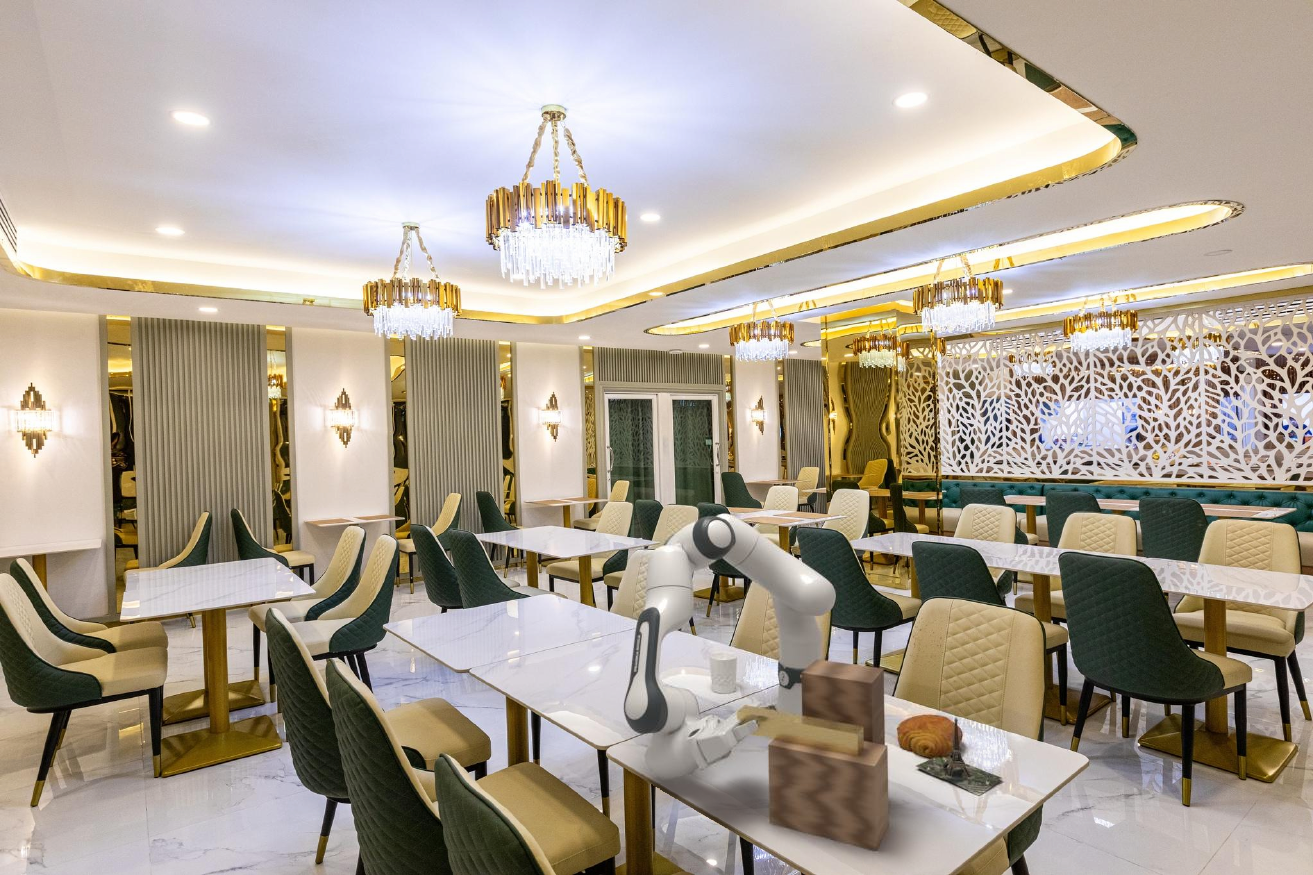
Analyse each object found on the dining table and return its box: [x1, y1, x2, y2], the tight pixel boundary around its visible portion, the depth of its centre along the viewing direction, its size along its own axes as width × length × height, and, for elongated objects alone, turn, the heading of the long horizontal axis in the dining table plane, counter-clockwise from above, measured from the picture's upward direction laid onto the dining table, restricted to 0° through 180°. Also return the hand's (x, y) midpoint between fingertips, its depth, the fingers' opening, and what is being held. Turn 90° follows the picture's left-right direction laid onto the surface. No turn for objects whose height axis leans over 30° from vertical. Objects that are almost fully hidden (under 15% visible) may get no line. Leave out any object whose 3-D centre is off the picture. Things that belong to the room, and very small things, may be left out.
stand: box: [767, 659, 890, 852], centre depth 145 cm, size 20×21×26 cm
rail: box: [736, 704, 864, 756], centre depth 143 cm, size 24×4×4 cm, turn 59°
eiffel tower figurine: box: [915, 717, 1004, 797], centre depth 159 cm, size 15×10×13 cm
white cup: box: [709, 651, 738, 694], centre depth 215 cm, size 8×8×10 cm
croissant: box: [896, 714, 964, 759], centre depth 175 cm, size 14×16×8 cm
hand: (766, 715), depth 146 cm, fingers open, 8 cm apart
